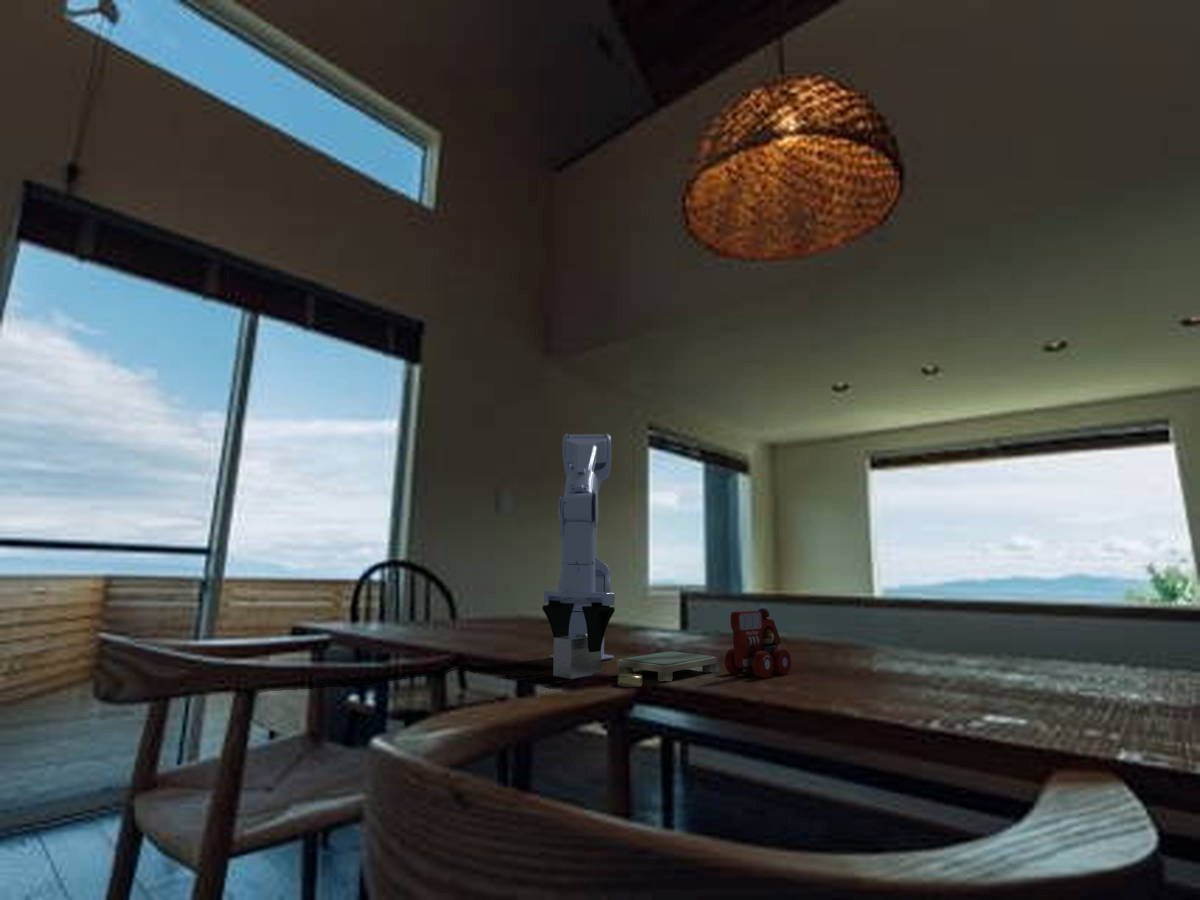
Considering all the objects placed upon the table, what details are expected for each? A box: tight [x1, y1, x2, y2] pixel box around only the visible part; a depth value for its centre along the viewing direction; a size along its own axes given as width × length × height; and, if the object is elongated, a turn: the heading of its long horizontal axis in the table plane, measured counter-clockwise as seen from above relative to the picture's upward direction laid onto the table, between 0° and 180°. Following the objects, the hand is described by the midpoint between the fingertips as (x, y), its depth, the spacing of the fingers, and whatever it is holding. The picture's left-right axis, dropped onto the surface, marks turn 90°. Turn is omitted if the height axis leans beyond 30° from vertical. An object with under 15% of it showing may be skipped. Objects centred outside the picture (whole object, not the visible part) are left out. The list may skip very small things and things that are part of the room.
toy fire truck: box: [724, 607, 792, 679], centre depth 107 cm, size 7×12×10 cm, turn 132°
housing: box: [552, 634, 602, 680], centre depth 106 cm, size 4×7×6 cm, turn 137°
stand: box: [616, 650, 718, 681], centre depth 106 cm, size 10×14×2 cm
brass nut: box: [617, 673, 643, 688], centre depth 96 cm, size 4×4×2 cm
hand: (577, 649), depth 106 cm, fingers open, 7 cm apart
